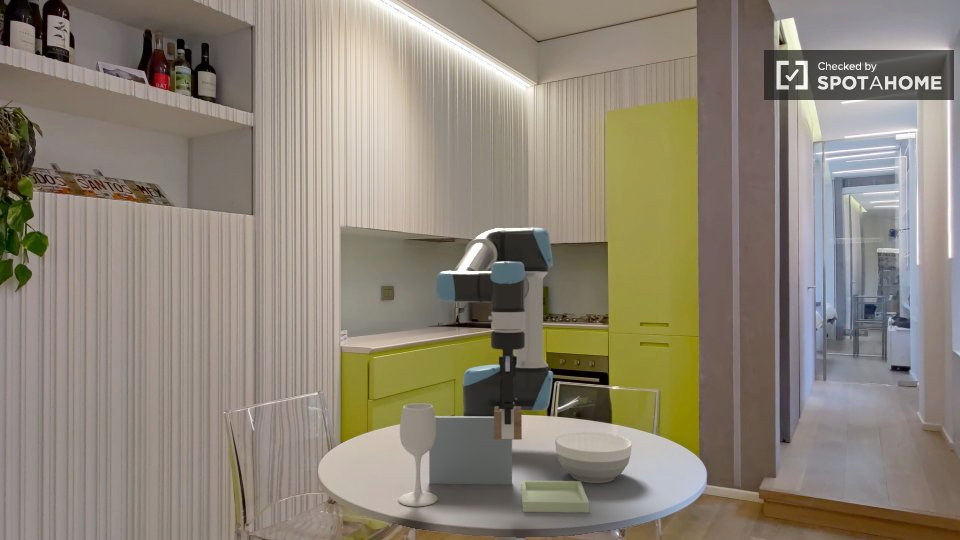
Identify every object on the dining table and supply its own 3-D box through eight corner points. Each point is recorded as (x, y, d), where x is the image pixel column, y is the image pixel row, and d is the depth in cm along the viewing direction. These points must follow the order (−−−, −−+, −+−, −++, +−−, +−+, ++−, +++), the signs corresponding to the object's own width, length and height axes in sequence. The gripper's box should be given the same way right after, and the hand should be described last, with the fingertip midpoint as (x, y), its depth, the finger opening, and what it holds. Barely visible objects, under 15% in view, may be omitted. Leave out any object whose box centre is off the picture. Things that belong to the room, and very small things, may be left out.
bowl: (585, 493, 144) (585, 455, 144) (540, 471, 161) (540, 437, 161) (648, 481, 153) (647, 445, 153) (599, 461, 169) (599, 429, 170)
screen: (429, 483, 151) (429, 417, 151) (430, 481, 152) (429, 416, 153) (512, 484, 150) (511, 417, 150) (512, 482, 152) (511, 416, 152)
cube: (494, 432, 142) (494, 405, 142) (521, 432, 142) (521, 405, 142) (494, 439, 136) (494, 410, 136) (521, 439, 136) (521, 411, 136)
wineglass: (399, 493, 144) (399, 402, 144) (437, 492, 145) (437, 401, 145) (397, 507, 135) (397, 410, 136) (437, 506, 136) (437, 409, 136)
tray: (520, 489, 147) (520, 480, 147) (580, 490, 146) (580, 481, 146) (522, 511, 133) (522, 501, 133) (588, 512, 132) (588, 502, 132)
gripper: (492, 327, 149) (492, 424, 149) (489, 334, 130) (489, 445, 130) (524, 327, 149) (524, 424, 148) (525, 334, 130) (525, 446, 129)
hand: (508, 434), depth 139 cm, fingers closed on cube, 6 cm apart
